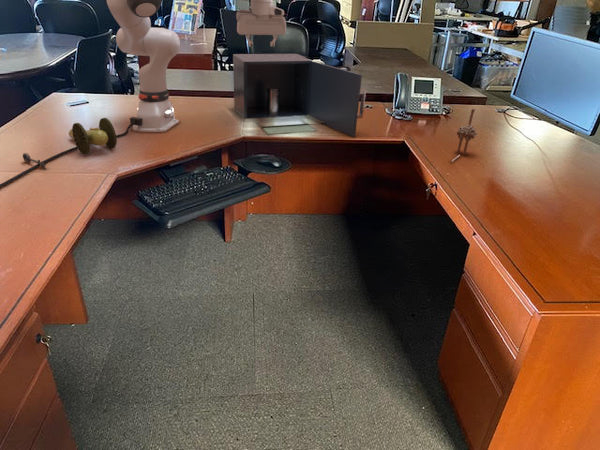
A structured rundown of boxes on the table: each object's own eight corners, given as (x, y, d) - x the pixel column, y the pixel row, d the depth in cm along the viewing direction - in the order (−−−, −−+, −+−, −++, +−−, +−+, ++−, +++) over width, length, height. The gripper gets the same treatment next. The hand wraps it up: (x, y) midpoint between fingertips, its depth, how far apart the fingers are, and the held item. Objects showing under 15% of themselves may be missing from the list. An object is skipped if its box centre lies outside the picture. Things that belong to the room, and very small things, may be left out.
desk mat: (315, 131, 198) (315, 130, 198) (268, 134, 191) (268, 133, 191) (301, 119, 213) (301, 119, 212) (256, 122, 205) (256, 121, 205)
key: (23, 161, 152) (20, 152, 151) (26, 161, 153) (23, 151, 151) (44, 170, 147) (42, 160, 145) (47, 169, 148) (45, 159, 146)
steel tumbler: (281, 114, 215) (281, 89, 209) (268, 115, 213) (269, 89, 207) (277, 110, 220) (277, 86, 214) (265, 111, 218) (265, 86, 212)
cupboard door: (320, 116, 219) (323, 60, 206) (364, 134, 197) (372, 73, 184) (308, 117, 216) (312, 61, 203) (353, 136, 193) (359, 74, 180)
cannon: (59, 141, 171) (52, 112, 165) (89, 135, 179) (84, 107, 173) (90, 159, 157) (84, 128, 151) (121, 152, 165) (117, 122, 159)
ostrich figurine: (456, 149, 186) (466, 106, 177) (472, 153, 182) (483, 109, 174) (442, 160, 173) (452, 114, 165) (459, 164, 170) (470, 118, 161)
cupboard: (309, 117, 217) (312, 60, 204) (244, 121, 206) (243, 61, 193) (294, 106, 233) (297, 53, 220) (234, 109, 222) (232, 54, 209)
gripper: (237, 9, 173) (238, 47, 180) (287, 11, 179) (286, 47, 186) (234, 8, 178) (235, 45, 185) (283, 9, 184) (282, 45, 191)
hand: (261, 46), depth 185 cm, fingers open, 8 cm apart
